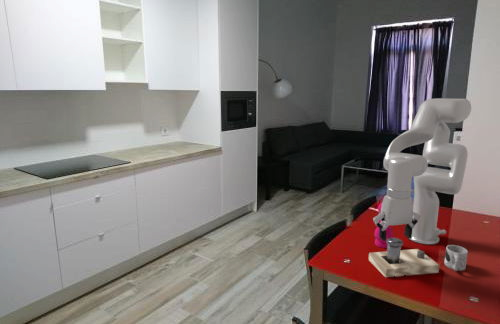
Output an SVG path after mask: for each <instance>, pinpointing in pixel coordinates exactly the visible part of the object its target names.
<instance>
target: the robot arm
mask: <svg viewBox="0 0 500 324" xmlns="http://www.w3.org/2000/svg"><path fill="white" fill-rule="evenodd" d="M471 104H472V103H471V101H470V100H469V99H468V98H446V97H445V98H444V97H443V98H441V97H440V98H439V97H438V98H429V99H426V100H424V101H423V102H422V103H420V106H419V108H418V110H417V111H416V112H417V113H416V114H415V117H414V119H413V122H412V124H411V126H410V127H409V129H408V130H406V131H404V132H402V133H401V134H399V135H398V136H397V137H396V138H394V139H393V140H392V141H391V143H390V144H389V146H388V147H387V149H386V153H385V155H384V157H383V163H382V164H383V168H384V170H386V171H387V172H388V173H387V185H386V187H387V188H386V195H384V197H383V199H382V202H381V203H382V207H381V213H380V212H379V213H380V214H379V213H378V214H377V215H375V216H374V217H373V218H372V221H373V223H374V224H375V226H376V227H378V228H379V237H380V238H381V239H382V240H383V241H386V230H385V229H386V228H387V227H388V226H389V225H390V226H399V225H404V234H403V235H404V237H406V238H407V239H409V240H411V241H412V242H415V243H418V244H422V245H437V244H438V243H439V242H440V237H439V236H440V235H446V234H447V231H446V230H445V229H440V228H438V227H437V225H438V224H437V223H438V217H439V207H440V199H439V197H438V194H437V193H442V194H447V195H456V194H459V193H460V191H461V190H462V186H463V183H464V182H463V181H464V176H465V171H466V167H467V162H468V155H469V154H468V149H467V147H466V146H465V145H463V144H461V143H450V142H449V141H450V137H451V130H450V128H449V126H448V125H447V123H448V124H449V123H451V124H457V123H461V122H464V121H466V120H467V119H468V118H469V116H470V114H471V111H472V105H471ZM423 143H424V146H423V150H422V155H419V154H413V153H406V152H405V153H404V152H402V151H403V150H405V149H406V148H409V147H412V146H417V145H420V144H423ZM429 164H430V165H434V166H440V167H441V166H442V167H449V168H450V169H447V168H445V169H444V168H439V167H433V166H432V167H431V166H429ZM412 182H413V183H412ZM412 184H413V187H414V189H413V188H412ZM436 192H437V193H436ZM412 194H414V195H413V198H412V196H411V195H412ZM380 220H381V221H382V222H381V223H379V222H380ZM383 225H384V226H383Z"/></svg>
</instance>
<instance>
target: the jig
mask: <svg viewBox="0 0 500 324" xmlns="http://www.w3.org/2000/svg"><path fill="white" fill-rule="evenodd" d="M386 257H387V250H386V251H377V252H376V251H374V252H369V253H368V261H369V262H370V263H371V264H372V265H373V266H374V267H375V268H376V269H377V270H378V272H380V273H381V274H382V276H383V277H385V278H394V276H395V277H403V276H404V275H406V276H415V275H427V274H437V273H440V272H439V271H440V264H439V263H438V262H436V261H435V260H434V259H432V258H431V257H429V256H428V255H427V254H426V253H425V251H423V250H420V249H419V248H414V249H413V248H412V249H402V250H401V251H400V261H399V264H389V263H388V262H386ZM404 277H405V276H404Z"/></svg>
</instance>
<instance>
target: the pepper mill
mask: <svg viewBox="0 0 500 324" xmlns="http://www.w3.org/2000/svg"><path fill="white" fill-rule="evenodd" d="M381 207H382V202H381V203H380V204H378V206H377V211H378V215H379V214H380V213H381ZM381 222H382V221H381V220H379V223H381ZM383 226H384V225H383ZM391 226H392V225H389V226H388V227H387V228H386V229H385V230H386V240H387V238H394V232H393V230H392V229H393V228H392V227H391ZM374 238H375V239H374V245H375V246H377V247H379V248H381V249H387V246H388V244H387V243H386V241H383V240H382V239H381V238H380V237H379V228H378V226H376V229H375V230H374Z"/></svg>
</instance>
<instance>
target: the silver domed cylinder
mask: <svg viewBox="0 0 500 324" xmlns="http://www.w3.org/2000/svg"><path fill="white" fill-rule="evenodd" d="M386 243H387V244H388V246H387V248H386V251H387V257H386V262H388V263H389V264H399V261H400V251H401V249H402V247H403V245H404V241H403V240H402V239H400V238H397V237H393V238H387V240H386Z"/></svg>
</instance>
